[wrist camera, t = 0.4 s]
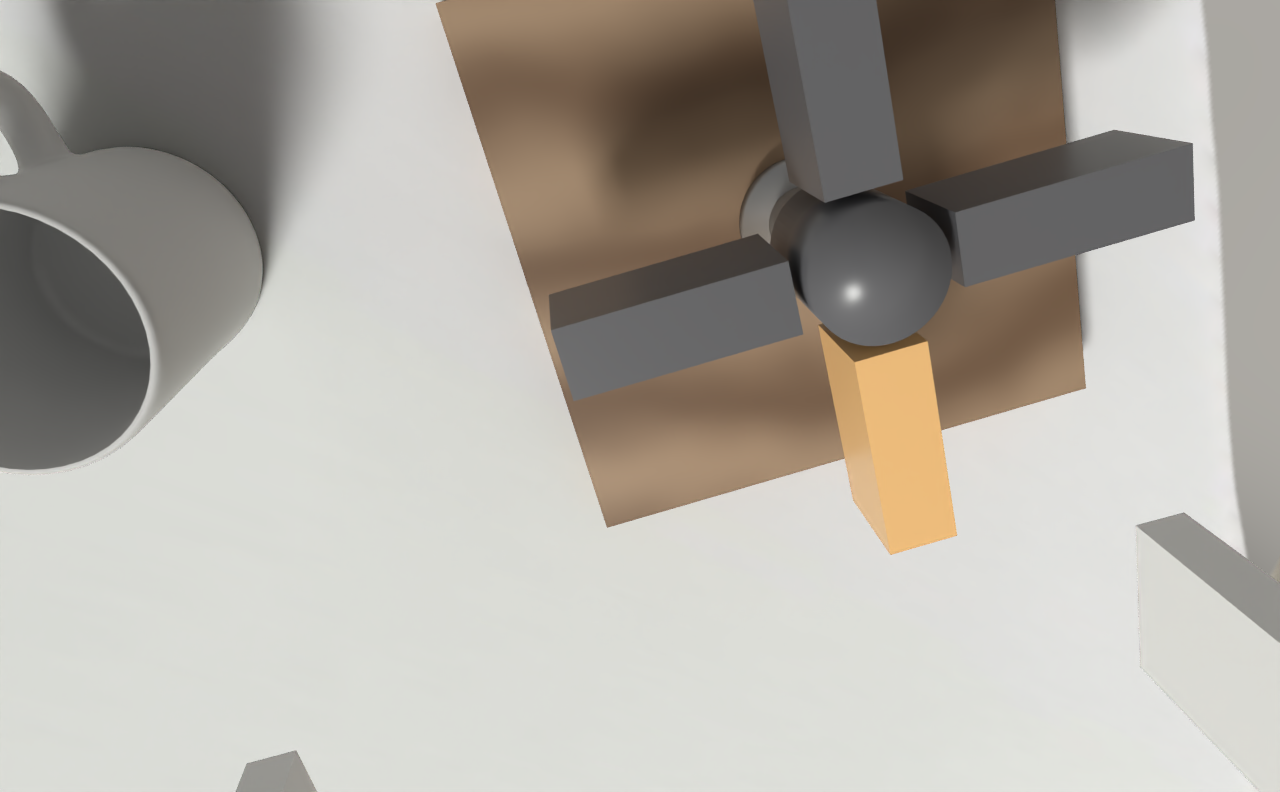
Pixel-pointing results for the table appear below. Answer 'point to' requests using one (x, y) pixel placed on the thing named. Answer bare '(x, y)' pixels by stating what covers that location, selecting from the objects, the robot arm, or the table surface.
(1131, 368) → the table surface
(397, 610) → the table surface
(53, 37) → the table surface
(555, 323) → the grey bar cross
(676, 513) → the table surface
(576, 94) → the stud base
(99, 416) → the mug
